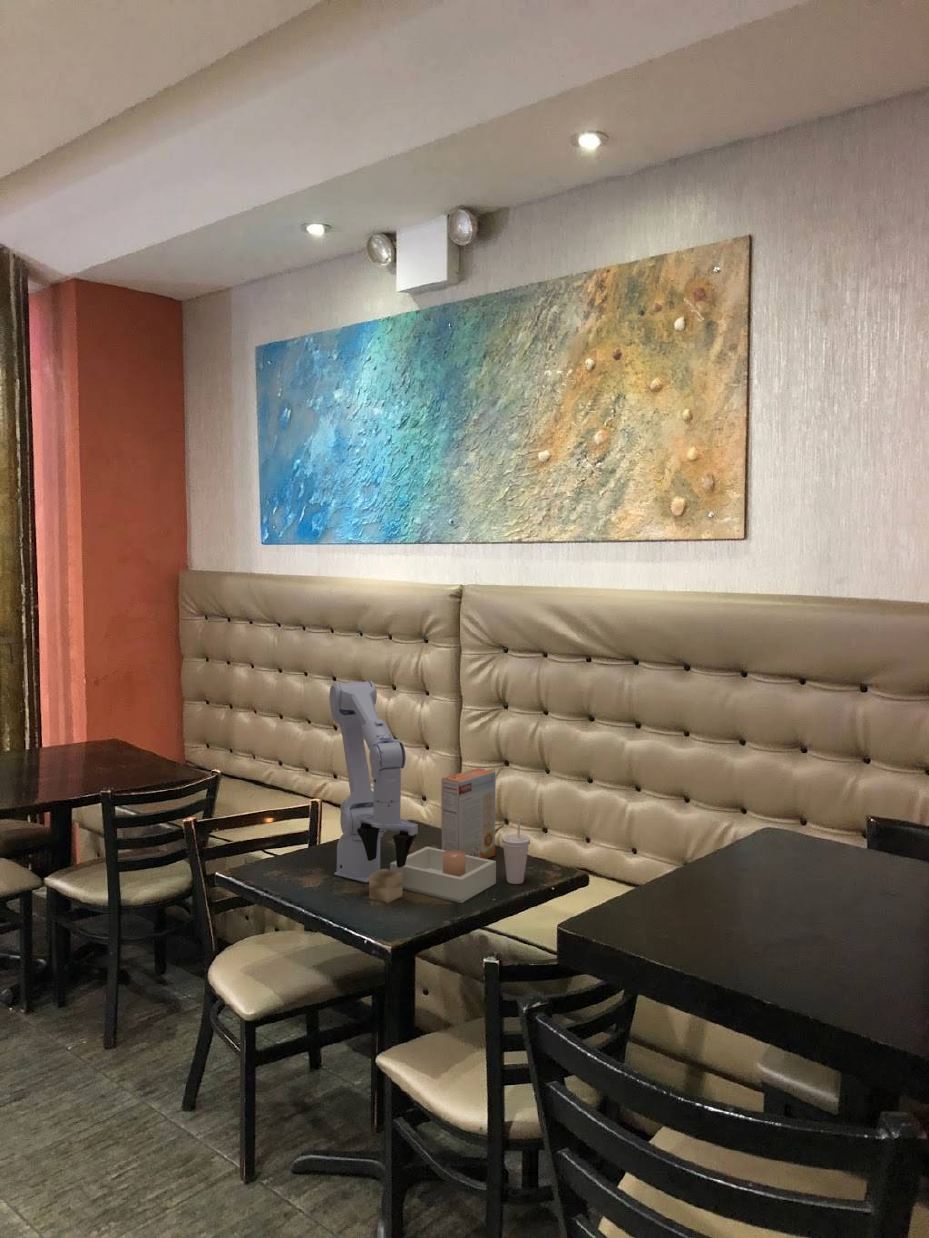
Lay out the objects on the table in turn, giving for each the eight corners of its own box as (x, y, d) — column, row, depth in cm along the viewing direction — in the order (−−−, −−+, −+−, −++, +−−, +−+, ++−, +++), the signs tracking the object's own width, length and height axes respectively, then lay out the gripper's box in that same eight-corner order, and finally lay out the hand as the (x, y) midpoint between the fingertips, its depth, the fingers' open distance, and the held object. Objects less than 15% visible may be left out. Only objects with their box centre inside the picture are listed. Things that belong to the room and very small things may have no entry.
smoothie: (527, 887, 209) (528, 824, 208) (498, 884, 210) (499, 822, 209) (531, 877, 215) (532, 816, 214) (503, 875, 216) (504, 814, 215)
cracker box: (476, 851, 233) (477, 766, 232) (495, 856, 229) (497, 770, 228) (439, 865, 222) (440, 776, 221) (459, 870, 219) (460, 781, 217)
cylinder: (437, 886, 207) (438, 854, 206) (450, 879, 211) (450, 848, 210) (457, 890, 204) (457, 858, 204) (469, 883, 208) (470, 852, 208)
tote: (389, 885, 208) (390, 863, 208) (426, 867, 220) (426, 846, 220) (461, 903, 198) (461, 879, 198) (495, 883, 211) (496, 861, 210)
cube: (369, 898, 201) (369, 875, 200) (383, 891, 205) (383, 868, 205) (388, 903, 198) (388, 879, 198) (402, 896, 202) (402, 873, 202)
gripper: (347, 798, 200) (347, 861, 201) (404, 808, 193) (403, 874, 194) (368, 791, 206) (367, 852, 207) (423, 801, 199) (422, 865, 200)
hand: (386, 862), depth 201 cm, fingers open, 7 cm apart
